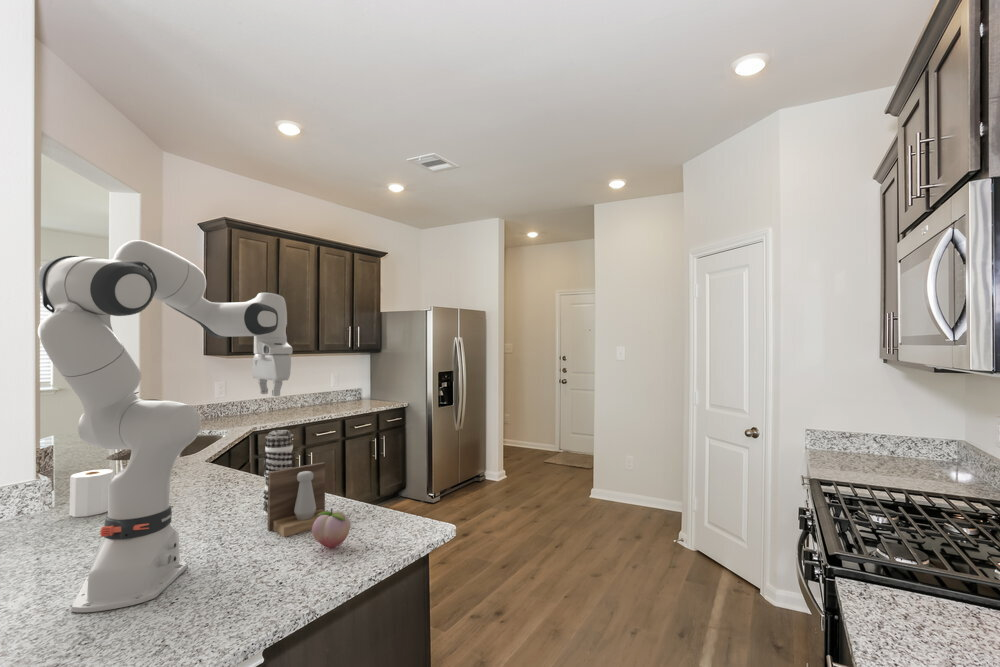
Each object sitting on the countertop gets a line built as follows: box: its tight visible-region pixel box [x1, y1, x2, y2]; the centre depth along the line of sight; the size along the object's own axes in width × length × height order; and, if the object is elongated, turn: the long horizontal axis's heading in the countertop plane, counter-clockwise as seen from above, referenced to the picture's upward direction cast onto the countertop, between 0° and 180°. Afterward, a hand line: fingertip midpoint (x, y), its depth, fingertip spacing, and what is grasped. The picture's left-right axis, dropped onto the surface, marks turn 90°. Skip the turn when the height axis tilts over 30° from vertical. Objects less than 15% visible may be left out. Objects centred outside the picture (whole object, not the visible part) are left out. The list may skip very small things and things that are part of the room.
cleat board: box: [267, 461, 326, 538], centre depth 137 cm, size 9×16×16 cm, turn 136°
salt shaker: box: [294, 471, 316, 521], centre depth 136 cm, size 6×6×13 cm
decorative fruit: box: [311, 508, 351, 549], centre depth 121 cm, size 9×8×10 cm
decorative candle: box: [262, 429, 296, 517], centre depth 149 cm, size 9×9×25 cm
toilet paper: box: [68, 468, 115, 518], centre depth 150 cm, size 10×10×12 cm
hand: (269, 395), depth 141 cm, fingers open, 8 cm apart
